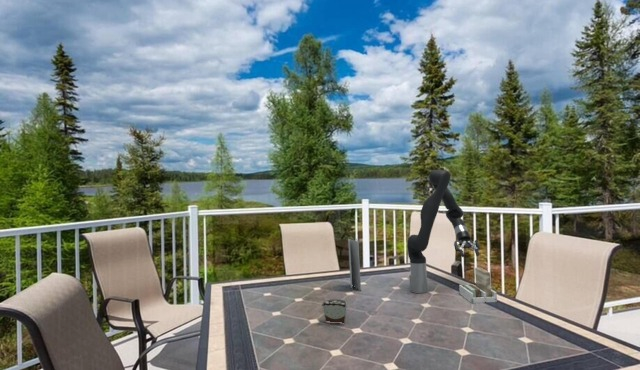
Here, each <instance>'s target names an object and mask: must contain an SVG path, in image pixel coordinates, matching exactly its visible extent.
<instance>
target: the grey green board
mask: <svg viewBox="0 0 640 370" xmlns="http://www.w3.org/2000/svg"><path fill="white" fill-rule="evenodd" d="M474 272H475V273H474V274H475V286H476V287H478V288H479V289H481V290H482V291H484V292H485V293H486V297H491V289H492V287H491V286H492V283H491V281H492V280H491V272H490V271H488V270H486V269H484V268H482V267H474Z"/></svg>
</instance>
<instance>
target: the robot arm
mask: <svg viewBox="0 0 640 370" xmlns="http://www.w3.org/2000/svg"><path fill="white" fill-rule="evenodd" d="M428 179H429V182H430V183H431V185H432V187H433V188H434V189H435V191H434V192H433V193H432V194H431V195H430V196H429V197H428V198H426V199H425V201H424V202H423V204H422V208H421V209H420V213H419V214H420V216H419V217H420V228H419V231H418V234H411V235H410V236H409V237H408V238H407V244H406V245H407V255H408V258H409V266H410V267H409V268H410V271H409V272H410V275H409V277H408V278H409V291H410V292H411V293H415V294H426V293H428V290H429V289H428V276H427V275H428V272H427V257H425V255H424V254H423V252H424V251H426V249H427V248H428V247H429V246H428V245H429V241H430V237H431V233H432V230H433V227H434V223H435V221H436V218H437V214H438V212H439V208H440V206H441V202H443V204H444V207H445V209H446V212H445V216H446V218H447V219H448V221H449V222H450V223H451V224H452V228H453V230H454V233H455V237H456V240H454V242H453V246H454V249H455V252H458V253H459V254H460V256H461V257H462V258H464V257H465V253H464V251H463V249H464V250H465V249H470V250H472V251H474V253H475V256H476V257H479V256H480V250H481V248H482V247H481V245H480V244H479V241H478V240H477V239H475V240H472V238H471V235H470V233H469V230H468V228H467V227H466V224H465V222H464V220H463V219H462V217H463V216H464V211H463V209H462V208H461V207H460V206H459V205H458V203H457V202H456V199H455V197H454V195H453V194H452V193H451V192H450V191H449V190H448V186H449V183H450V181H451V173H450V172H449V171H448V170H443V169H441V170H440V169H433V170H431V171H430V173H429V178H428ZM459 246H460V248H459Z"/></svg>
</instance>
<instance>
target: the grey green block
mask: <svg viewBox="0 0 640 370" xmlns="http://www.w3.org/2000/svg"><path fill="white" fill-rule="evenodd" d="M468 285H469V286H471V287H472V288H474V289H475V291H476V298H478V297H480V289H478V288H477V287H475V286H476V285H475V286H474V284H473V285H471V284H468Z"/></svg>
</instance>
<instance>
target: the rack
mask: <svg viewBox="0 0 640 370" xmlns="http://www.w3.org/2000/svg"><path fill="white" fill-rule="evenodd" d="M470 285H474V284H473V283H472V284H470ZM474 286H475V287H476V284H475V285H474ZM477 288H478V287H477ZM458 289H459V291H458V292H459V295H461V296H462V297H463V298H464V299H465V300H467V301H468V302H469V303H470V304H482V303H485V302H486V303H497V302H498V300H497V299H498V298H497V291H495V290H493V289H492V288H491V297H486V293H485V292H484V291H482V290H481V289H480V297H478V298H473V293H472V292H470V291H469V290H467V289H466V288H465V287H464V286H463V285H462V284H459V285H458ZM478 289H479V288H478Z"/></svg>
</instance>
